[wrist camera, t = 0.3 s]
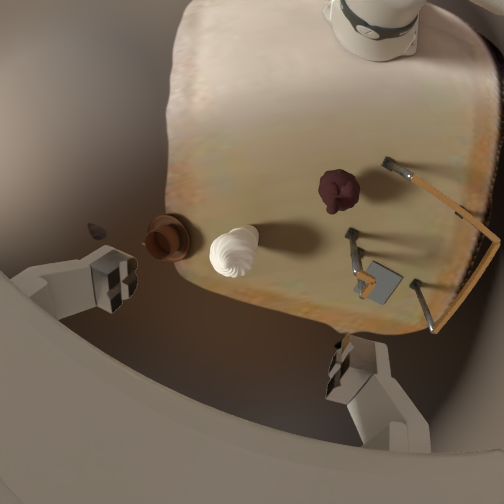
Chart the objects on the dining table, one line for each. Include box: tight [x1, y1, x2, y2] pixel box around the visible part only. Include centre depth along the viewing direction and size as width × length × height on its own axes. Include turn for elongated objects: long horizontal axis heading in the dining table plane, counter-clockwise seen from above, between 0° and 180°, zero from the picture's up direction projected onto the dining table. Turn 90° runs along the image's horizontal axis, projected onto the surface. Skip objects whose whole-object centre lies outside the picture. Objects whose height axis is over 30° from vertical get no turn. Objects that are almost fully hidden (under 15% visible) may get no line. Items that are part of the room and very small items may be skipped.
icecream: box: [318, 169, 360, 215], centre depth 43 cm, size 7×7×15 cm
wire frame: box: [345, 157, 500, 334], centre depth 41 cm, size 21×21×17 cm
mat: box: [354, 261, 402, 305], centre depth 55 cm, size 8×8×1 cm
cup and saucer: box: [142, 215, 190, 262], centre depth 63 cm, size 12×12×6 cm
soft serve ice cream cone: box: [210, 225, 259, 278], centre depth 52 cm, size 8×8×16 cm
